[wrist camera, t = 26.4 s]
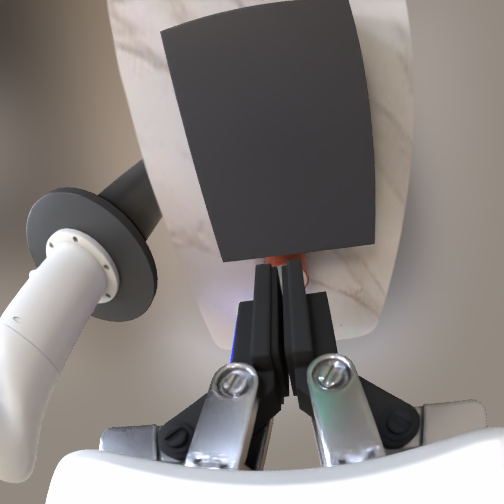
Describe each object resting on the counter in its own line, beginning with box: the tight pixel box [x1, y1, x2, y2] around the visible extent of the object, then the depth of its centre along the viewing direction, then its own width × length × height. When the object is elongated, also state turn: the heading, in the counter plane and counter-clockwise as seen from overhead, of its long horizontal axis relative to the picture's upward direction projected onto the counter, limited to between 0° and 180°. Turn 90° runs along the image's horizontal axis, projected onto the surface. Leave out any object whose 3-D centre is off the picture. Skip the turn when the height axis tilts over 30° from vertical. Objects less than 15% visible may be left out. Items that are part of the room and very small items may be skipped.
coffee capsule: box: [265, 253, 309, 295], centre depth 31 cm, size 5×5×4 cm
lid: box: [160, 0, 375, 262], centre depth 19 cm, size 20×14×1 cm, turn 11°
